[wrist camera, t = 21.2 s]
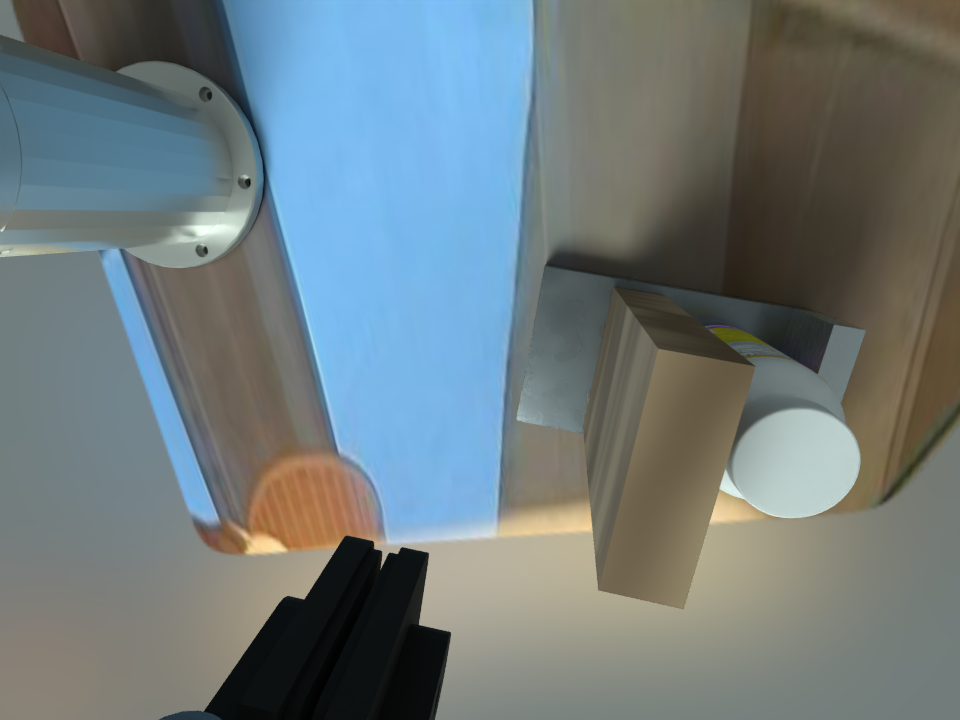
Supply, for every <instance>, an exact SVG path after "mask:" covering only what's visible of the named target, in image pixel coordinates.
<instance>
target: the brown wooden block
mask: <svg viewBox="0 0 960 720" xmlns="http://www.w3.org/2000/svg"><path fill="white" fill-rule="evenodd" d="M755 367H756V366H755V365H753V364H752V363H751V362H749V361H748V360H747V359H746V358H744V357H743V356H742V355H740V354H739V353H738V352H737V351H735V350H734V349H733V348H731V347H730V346H729V345H728V344H726V343H725V342H724V341H722V340H721V339H720V338H719V337H717V336H716V335H715V334H713V333H712V332H711V331H710V330H708V329H707V328H706V327H704V326H703V325H702V324H701V323H699V322H698V321H697V320H695V319H694V318H693V317H692V316H690V315H689V314H688V313H686V312H685V311H684V310H682V309H681V308H680V307H679V306H677V305H676V304H675V303H673V302H672V301H671V300H670V299H668V298H667V297H666V296H663V295H657V294H651V293H645V292H640V291H634V290H628V289H622V288H616V287H614V288H613V293H612V297H611V302H610V306H609V311H608V315H607V320H606V325H605V329H604V334H603V338H602V343H601V347H600V352H599V357H598V361H597V366H596V370H595V375H594V379H593V384H592V388H591V393H590V398H589V402H588V407H587V411H586V416H585V420H584V425H583V432H584V443H585V453H586V464H587V475H588V485H589V496H590V507H591V517H592V528H593V538H594V549H595V559H596V569H597V580H598V590H600V591H604V592H609V593H613V594H618V595H622V596H627V597H631V598H636V599H640V600H645V601H649V602H653V603H658V604H662V605H667V606H671V607H676V608H680V609H684V606H685V603H686V599H687V596H688V593H689V589H690V586H691V582H692V579H693V576H694V572H695V569H696V566H697V562H698V559H699V555H700V552H701V549H702V546H703V542H704V539H705V535H706V532H707V529H708V525H709V522H710V519H711V515H712V512H713V509H714V505H715V502H716V498H717V495H718V492H719V488H720V485H721V482H722V478H723V475H724V472H725V468H726V465H727V462H728V458H729V455H730V451H731V448H732V445H733V441H734V438H735V435H736V431H737V428H738V425H739V421H740V418H741V414H742V411H743V408H744V404H745V401H746V398H747V394H748V391H749V388H750V384H751V381H752V377H753V374H754V371H755Z"/></svg>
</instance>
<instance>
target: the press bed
mask: <svg viewBox="0 0 960 720" xmlns="http://www.w3.org/2000/svg"><path fill="white" fill-rule="evenodd" d="M614 287H616V288H622V289H628V290H634V291H640V292H645V293H651V294H657V295H663V296H666V297H667V298H668V299H670V300H671V301H672V302H673V303H675V304H676V305H677V306H679V307H680V308H681V309H682V310H684V311H685V312H686V313H688V314H689V315H690V316H692V317H693V318H694V319H695V320H697V321H698V322H699V323H701V324H702V325H703V326H704V327H705V326H711V325H723V326H731V327H735V328H738V329H741V330H743V331H745V332H747V333H749V334H751V335H753V336H755V337H756V338H758V339H760V340H761V341H763V342H765V343H766V344H768V345H770V346H771V347H773V348H775V349H776V350H778V351H780V352H782V353H783V354H785V355H787V356H788V357H790V358H792V359H793V360H795V361H797V362H798V363H800V364H802V365H804V366H805V367H807V368H809V369H810V370H812V371H813V372H815V373H816V374H818V375H819V376H820V377H821V378H822V379H824V380H825V381H826V382H827V383H828V385H829V386H830V387H831V388H832V389H833V391H834V392H835V394H836V395H837V397H838V399H839V401H840V403H841V401H842V399H843V396H844V393H845V390H846V387H847V384H848V381H849V378H850V375H851V373H852V370H853V367H854V364H855V361H856V358H857V355H858V352H859V349H860V347H861V344H862V341H863V338H864V335H865V332H866V330H864V329H861V328H859V327H856V326H853V325H851V324H848V323H845V322H843V321H840V320H837V319H835V318H832V317H829V316H827V315H824V314H821V313H819V312H816V311H813V310H811V309H805V308H799V307H794V306H788V305H782V304H776V303H770V302H764V301H758V300H752V299H747V298H741V297H735V296H729V295H723V294H717V293H711V292H705V291H700V290H694V289H688V288H682V287H676V286H670V285H664V284H658V283H653V282H647V281H641V280H635V279H629V278H623V277H617V276H611V275H606V274H600V273H594V272H588V271H582V270H576V269H570V268H564V267H559V266H553V265H547V264H545V268H544V273H543V279H542V284H541V289H540V295H539V300H538V306H537V311H536V316H535V322H534V327H533V333H532V338H531V344H530V349H529V354H528V360H527V365H526V371H525V376H524V381H523V387H522V392H521V398H520V403H519V408H518V414H517V419H516V420H517V421H522V422H527V423H532V424H537V425H543V426H548V427H553V428H558V429H563V430H568V431H573V432H578V433H583V434H584V432H583V425H584V420H585V416H586V411H587V407H588V402H589V398H590V393H591V388H592V384H593V379H594V375H595V370H596V366H597V361H598V357H599V352H600V347H601V343H602V338H603V334H604V329H605V325H606V320H607V315H608V311H609V306H610V302H611V297H612V293H613V288H614Z"/></svg>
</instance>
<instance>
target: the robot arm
mask: <svg viewBox="0 0 960 720" xmlns="http://www.w3.org/2000/svg"><path fill="white" fill-rule="evenodd" d="M211 96H212V99H211ZM249 180H251V185H249ZM263 182H264V178H263V165H262V158H261V154H260V150H259V146H258V142H257V139H256V136H255V134H254V132H253V130H252V127H251V125H250V123H249V121H248V119H247V118H246V116H245V115H244V113H243V111H242V110H241V108H240V107H239V105H238V104H237V103H236V102H235V101H234V100H233V99H232V97H231V96H230V95H229V94H228V93H227V92H226V91H225V90H224V89H223V88H222V87H220V86H219V85H218V84H216V83H215V82H214V81H212V80H211V79H210V78H208V77H206V76H204V75H202V74H200V73H198V72H196V71H194V70H192V69H189V68H186V67H183V66H181V65H178V64H175V63H169V62H162V61H146V62H137V63H134V64H131V65H128V66H125V67H122V68H121V69H119V70H117V71H116V72H114V71H111V70H108V69H104V68H101V67H98V66H95V65H92V64H89V63H86V62H83V61H80V60H77V59H74V58H70V57H67V56H64V55H61V54H58V53H55V52H52V51H49V50H46V49H43V48H40V47H36V46H33V45H30V44H27V43H24V42H21V41H18V40H15V39H12V38H9V37H5V36H2V35H0V257H7V256H22V255H35V254H48V253H49V254H50V253H64V252H76V251H77V252H78V251H91V250H106V249H120V248H124V249H126V250H127V251H128V252H130V253H131V254H132V255H134V256H136V257H138V258H140V259H142V260H144V261H146V262H149V263H153V264H156V265H160V266H163V267H173V268H186V267H195V266H200V265H204V264H208V263H212V262H214V261H216V260H218V259H220V258H222V257H224V256H226V255H227V254H228V253H230V252H231V251H232V250H233V249H235V248H236V247H237V246H238V245H239V244H240V243H241V241H242V240H243V239H244V238H245V236H246V235H247V234H248V233H249V231H250V229H251V227H252V225H253V223H254V221H255V219H256V217H257V214H258V211H259V207H260V204H261V200H262V192H263ZM207 248H208V251H207ZM428 558H429V553H427V552H422V551H417V550H413V549H408V548H403V547H402V548H401V549H400V551H399V553H398V554H394V553H389V554H388V556H387V558H386V560H385V562H384V564H383V566H382V568H381V561H382V551H380V550H375V549H374V542H373V541H370V540H365V539H361V538H356V537H351V536H345V537H344V539H343V540H342V542H341V543H340V545H339V546H338V548H337V549H336V551H335V553H334V554H333V556H332V557H331V559H330V560H329V562H328V564H327V565H326V567H325V568H324V570H323V571H322V573H321V575H320V576H319V578H318V579H317V581H316V582H315V584H314V585H313V587H312V589H311V590H310V592H309V593H308V595H307V596H306V598H305V600H303V599H299V598H295V597H290V596H287V597H285V598H283V600H282V601H281V602H280V603H279V604H278V606H277V607H276V609H275V610H274V612H273V613H272V614H271V616H270V617H269V619H268V620H267V621H266V623H265V624H264V626H263V627H262V629H261V630H260V632H259V633H258V634H257V636H256V637H255V639H254V640H253V642H252V643H251V644H250V646H249V647H248V649H247V650H246V652H245V653H244V654H243V656H242V657H241V659H240V660H239V662H238V663H237V665H236V666H235V668H234V669H233V670H232V672H231V674H230V675H229V676H228V678H227V679H226V680H225V682H224V683H223V685H222V686H221V688H220V689H219V691H218V692H217V694H216V695H215V696H214V698H213V699H212V700H211V702H210V703H209V705H208V706H207V708H206V709H205V711H204V712H202V711H183V712H179V713H175V714H172V715H168V716H165V717H163V718H161V719H159V720H435V716H436V712H437V707H438V702H439V698H440V693H441V688H442V683H443V678H444V673H445V667H446V662H447V656H448V650H449V644H450V637H451V632H447V631H443V630H438V629H434V628H430V627H425V626H420V625H419V619H420V612H421V605H422V599H423V592H424V586H425V579H426V572H427V566H428ZM380 568H381V570H380Z"/></svg>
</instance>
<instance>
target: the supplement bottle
mask: <svg viewBox="0 0 960 720" xmlns="http://www.w3.org/2000/svg"><path fill="white" fill-rule="evenodd" d="M705 327H706V328H707V329H708V330H710V331H711V332H712V333H713V334H715V335H716V336H717V337H719V338H720V339H721V340H722V341H724V342H725V343H726V344H728V345H729V346H730V347H731V348H733V349H734V350H735V351H737V352H738V353H739V354H740V355H742V356H743V357H744V358H746V359H747V360H748V361H749V362H751V363H752V364H753V365H755V366H756V367H755V371H754V374H753V377H752V381H751V384H750V388H749V391H748V394H747V398H746V401H745V404H744V408H743V411H742V414H741V418H740V421H739V425H738V428H737V431H736V435H735V438H734V441H733V445H732V448H731V451H730V455H729V458H728V462H727V465H726V468H725V472H724V475H723V478H722V482H721V485H720V488H719V489H721V490H722V491H724V492H726V493H728V494H730V495H733V496H735V497H738V498H742V499H745V500H746V501H747V502H749V503H750V504H751V505H752V506H754V507H755V508H757V509H758V510H760V511H762V512H764V513H767V514H769V515H773V516H776V517H783V518H800V517H808V516H812V515H815V514H818V513H821V512H823V511H825V510H827V509H829V508H831V507H833V506H834V505H836V504H837V503H838V502H839V501H841V500H842V499H843V498H844V497H845V496H846V494H847V493H848V492H849V491H850V489H851V488H852V486H853V485H854V483H855V481H856V479H857V476H858V473H859V470H860V450H859V445H858V442H857V440H856V438H855V436H854V434H853V432H852V431H851V430H850V428H849V427H848V426H847V425H846V424H845V416H844V412H843V408H842V406H841V403H840V401H839V399H838V397H837V395H836V394H835V392H834V391H833V389H832V388H831V387H830V386H829V385H828V383H827V382H826V381H825V380H824V379H822V378H821V377H820V376H819V375H818V374H816V373H815V372H813V371H812V370H810V369H809V368H807V367H805V366H804V365H802V364H800V363H798V362H797V361H795V360H793V359H792V358H790V357H788V356H787V355H785V354H783V353H782V352H780V351H778V350H776V349H775V348H773V347H771V346H770V345H768V344H766V343H765V342H763V341H761V340H760V339H758V338H756V337H755V336H753V335H751V334H749V333H747V332H745V331H743V330H741V329H738V328H735V327H731V326H723V325H711V326H705Z"/></svg>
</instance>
